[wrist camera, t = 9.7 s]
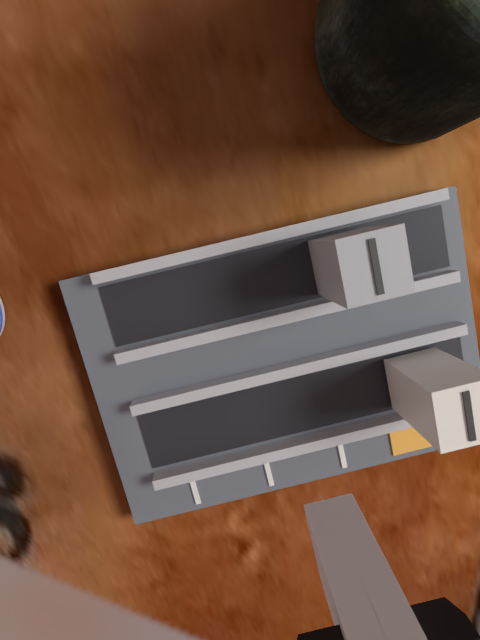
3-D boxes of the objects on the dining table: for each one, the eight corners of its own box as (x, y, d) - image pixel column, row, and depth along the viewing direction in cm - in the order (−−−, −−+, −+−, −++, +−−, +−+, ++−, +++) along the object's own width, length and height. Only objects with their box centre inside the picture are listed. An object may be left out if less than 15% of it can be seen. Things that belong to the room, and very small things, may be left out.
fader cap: (383, 359, 24) (432, 393, 19) (434, 347, 24) (498, 377, 19) (392, 408, 25) (442, 454, 19) (442, 395, 25) (506, 439, 19)
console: (65, 279, 24) (7, 293, 17) (444, 188, 24) (531, 167, 18) (138, 512, 27) (113, 601, 20) (478, 428, 27) (564, 489, 20)
